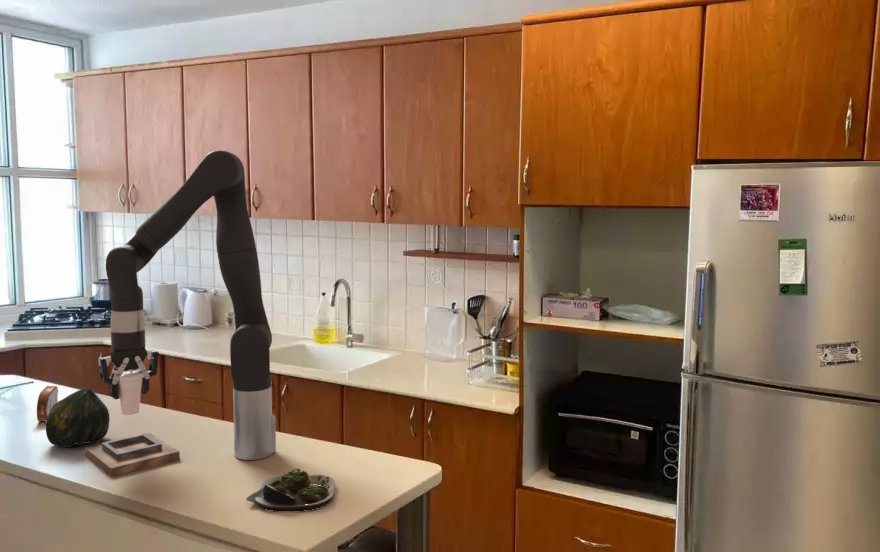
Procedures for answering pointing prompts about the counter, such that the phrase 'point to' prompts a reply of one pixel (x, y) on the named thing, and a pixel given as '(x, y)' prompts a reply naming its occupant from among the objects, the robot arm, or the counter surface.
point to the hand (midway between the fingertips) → (129, 395)
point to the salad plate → (294, 492)
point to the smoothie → (130, 391)
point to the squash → (77, 419)
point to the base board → (131, 454)
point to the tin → (46, 402)
